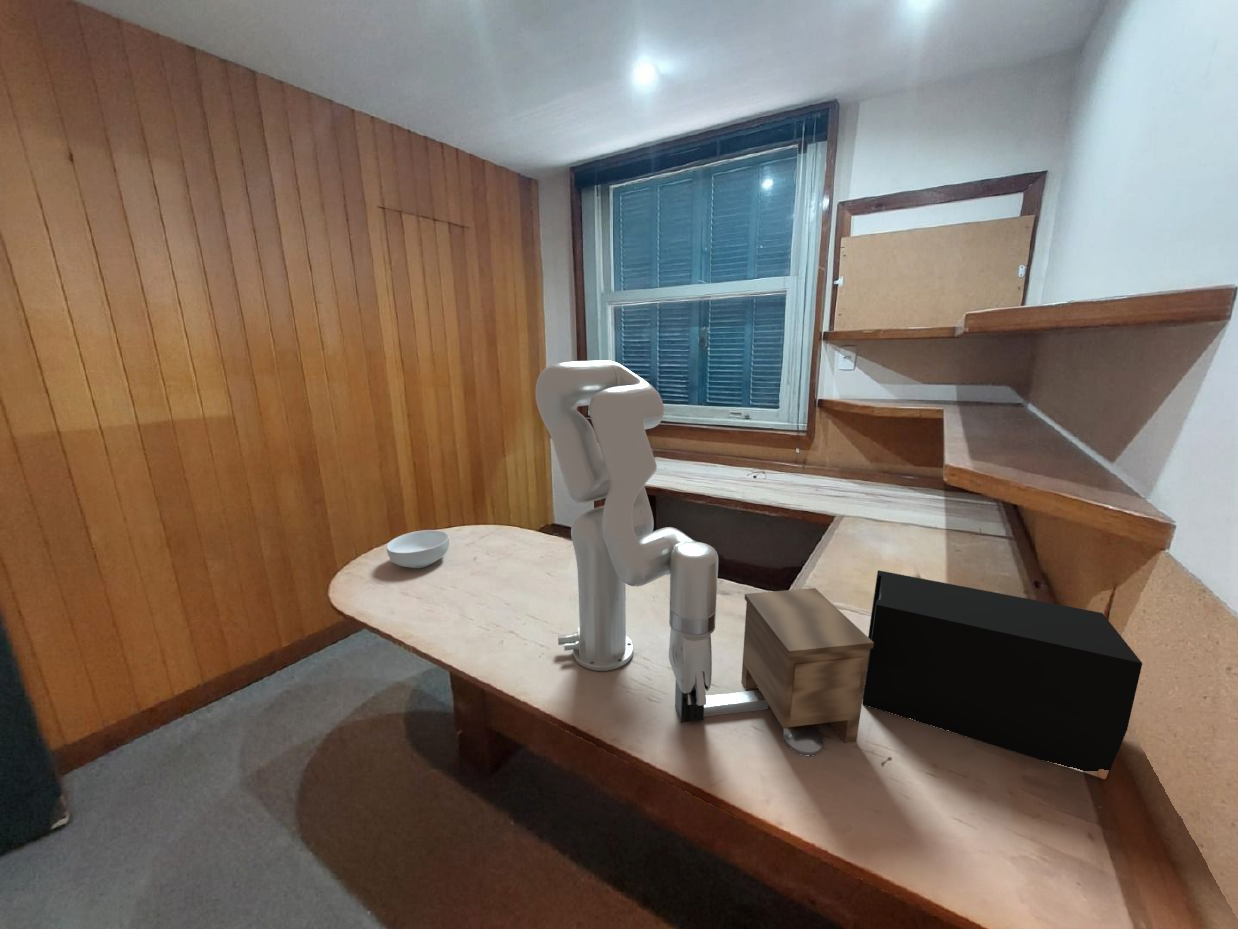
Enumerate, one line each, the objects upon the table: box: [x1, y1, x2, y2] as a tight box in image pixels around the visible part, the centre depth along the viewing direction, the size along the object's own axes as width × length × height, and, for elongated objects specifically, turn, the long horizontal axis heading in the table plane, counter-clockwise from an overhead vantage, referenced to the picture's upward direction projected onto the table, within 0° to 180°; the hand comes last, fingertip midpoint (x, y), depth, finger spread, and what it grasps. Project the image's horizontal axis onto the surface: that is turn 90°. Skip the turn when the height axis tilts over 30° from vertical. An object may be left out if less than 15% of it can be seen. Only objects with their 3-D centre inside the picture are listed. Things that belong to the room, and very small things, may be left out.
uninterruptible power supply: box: [862, 569, 1143, 772], centre depth 80 cm, size 16×34×20 cm, turn 61°
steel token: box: [782, 724, 824, 757], centre depth 77 cm, size 6×6×2 cm
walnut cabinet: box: [740, 587, 874, 744], centre depth 81 cm, size 14×17×18 cm
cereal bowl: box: [385, 529, 450, 569], centre depth 140 cm, size 17×17×7 cm
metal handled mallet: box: [674, 679, 770, 724], centre depth 83 cm, size 16×4×7 cm, turn 98°
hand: (689, 709), depth 83 cm, fingers closed on metal handled mallet, 4 cm apart
